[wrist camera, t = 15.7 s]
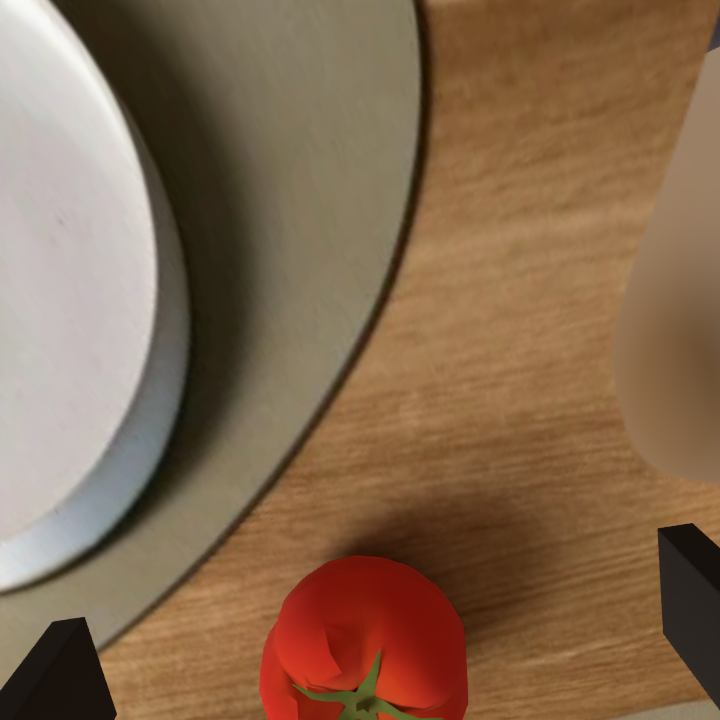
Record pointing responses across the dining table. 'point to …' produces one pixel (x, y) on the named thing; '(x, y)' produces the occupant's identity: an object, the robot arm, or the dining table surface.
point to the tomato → (365, 647)
